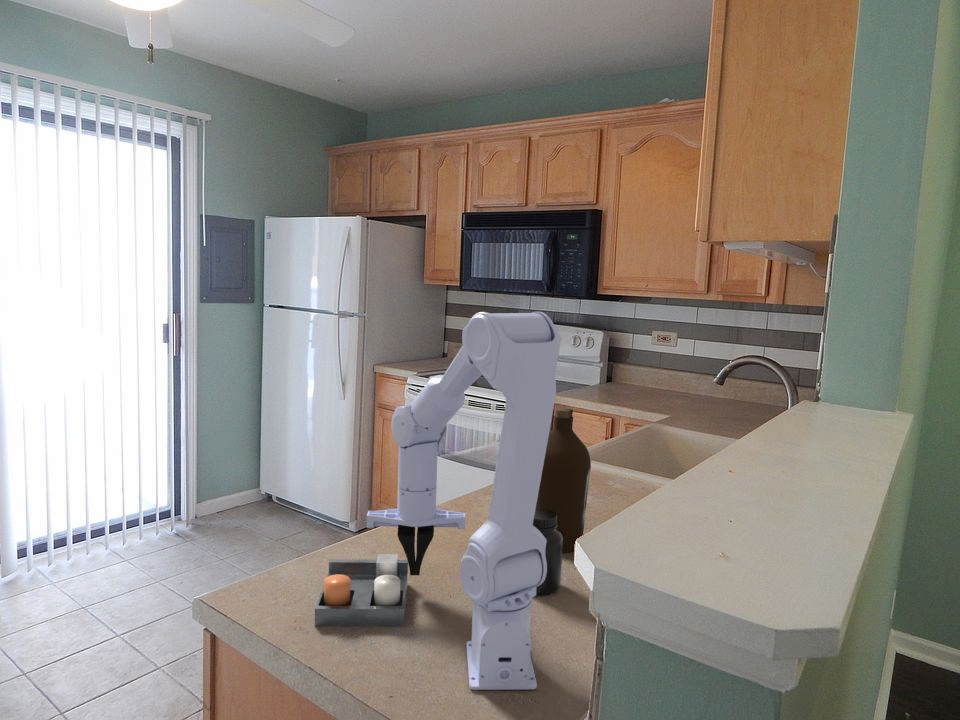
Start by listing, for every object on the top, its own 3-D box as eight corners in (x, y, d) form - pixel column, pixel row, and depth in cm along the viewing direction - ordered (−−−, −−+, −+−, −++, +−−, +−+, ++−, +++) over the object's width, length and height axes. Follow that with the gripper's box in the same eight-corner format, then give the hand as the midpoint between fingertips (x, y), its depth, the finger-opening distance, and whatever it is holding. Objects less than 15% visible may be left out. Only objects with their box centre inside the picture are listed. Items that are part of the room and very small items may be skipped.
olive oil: (534, 555, 113) (542, 415, 110) (522, 531, 123) (528, 402, 120) (593, 553, 114) (602, 415, 111) (576, 530, 125) (583, 403, 121)
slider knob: (396, 582, 96) (396, 563, 95) (375, 582, 96) (376, 562, 95) (397, 572, 99) (398, 554, 98) (377, 572, 99) (378, 554, 98)
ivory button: (399, 607, 90) (399, 586, 89) (372, 607, 90) (373, 586, 89) (400, 594, 93) (401, 574, 93) (375, 594, 93) (375, 574, 93)
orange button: (348, 607, 89) (348, 586, 89) (321, 607, 89) (321, 586, 89) (351, 594, 93) (351, 574, 92) (326, 594, 93) (326, 574, 92)
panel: (403, 626, 89) (403, 598, 88) (314, 625, 88) (314, 598, 88) (407, 584, 101) (408, 559, 100) (329, 583, 100) (329, 559, 99)
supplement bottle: (533, 572, 106) (536, 502, 105) (568, 586, 102) (573, 513, 101) (507, 587, 101) (511, 513, 100) (544, 602, 97) (548, 526, 95)
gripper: (465, 477, 100) (462, 561, 102) (370, 476, 99) (369, 560, 101) (467, 493, 93) (463, 582, 95) (365, 491, 92) (364, 581, 94)
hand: (414, 572), depth 97 cm, fingers closed
